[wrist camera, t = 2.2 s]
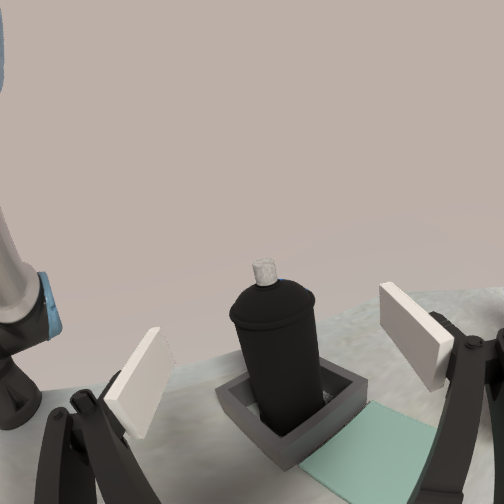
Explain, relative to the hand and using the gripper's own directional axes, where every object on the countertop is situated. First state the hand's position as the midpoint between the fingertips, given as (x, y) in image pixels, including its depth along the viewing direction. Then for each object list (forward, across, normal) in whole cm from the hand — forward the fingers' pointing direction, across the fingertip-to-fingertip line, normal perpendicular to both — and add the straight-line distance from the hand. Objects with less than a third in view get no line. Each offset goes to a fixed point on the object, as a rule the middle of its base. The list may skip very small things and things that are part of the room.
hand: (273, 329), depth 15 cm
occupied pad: (0, +8, -19) cm, 21 cm away
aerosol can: (+10, 0, -19) cm, 22 cm away
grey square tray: (+10, 0, -19) cm, 21 cm away
